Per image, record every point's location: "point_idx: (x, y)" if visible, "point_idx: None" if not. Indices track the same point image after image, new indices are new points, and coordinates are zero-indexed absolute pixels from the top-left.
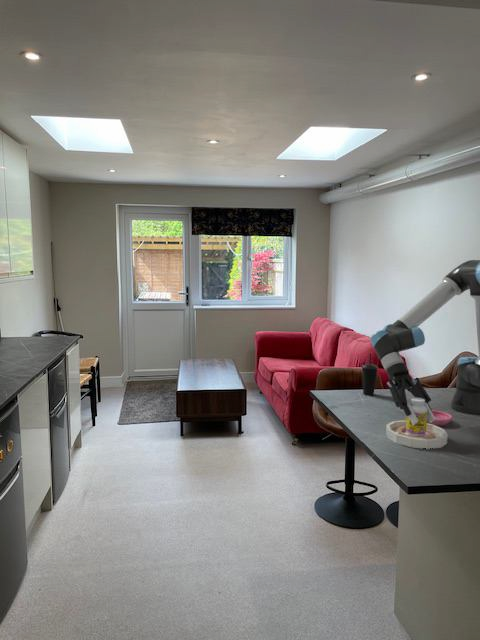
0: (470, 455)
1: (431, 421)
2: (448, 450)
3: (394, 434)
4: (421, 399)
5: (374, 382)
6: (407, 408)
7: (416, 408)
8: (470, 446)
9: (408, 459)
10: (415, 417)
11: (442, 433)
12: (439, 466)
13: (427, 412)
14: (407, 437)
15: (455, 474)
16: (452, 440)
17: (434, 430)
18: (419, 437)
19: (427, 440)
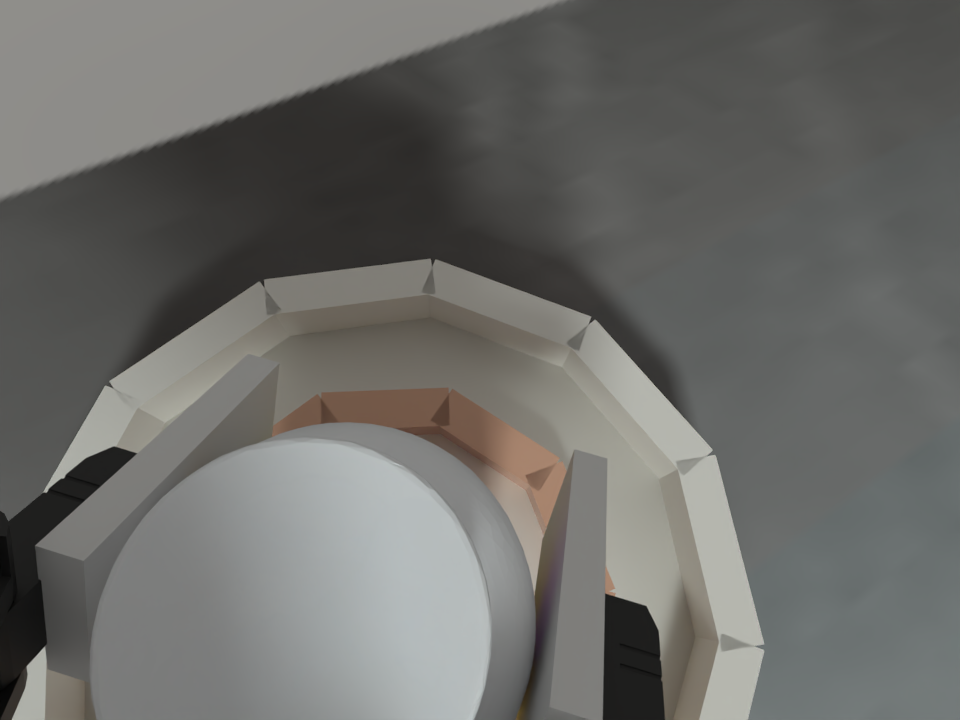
0: (405, 82)
1: (267, 422)
2: (449, 228)
3: (747, 694)
4: (237, 550)
5: None
6: (620, 702)
7: (493, 547)
8: (193, 159)
9: (939, 332)
10: (590, 499)
11: (221, 358)
12: (819, 126)
13: None
14: (724, 509)
15: (833, 11)
16: (159, 321)
17: None
18: (529, 468)
19: (603, 328)
